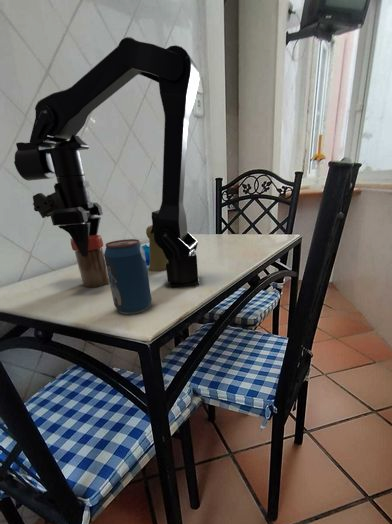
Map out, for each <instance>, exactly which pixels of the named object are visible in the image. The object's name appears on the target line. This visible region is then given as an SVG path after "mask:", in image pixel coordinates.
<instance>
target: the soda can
mask: <svg viewBox="0 0 392 524" xmlns="http://www.w3.org/2000/svg"><path fill="white" fill-rule="evenodd" d="M103 254H104V259H105V263H106V268H107V273H108V278H109V287H110V291H111V296H112V301H113V305H114V307H115V308H116V309H117V311H118V312H119V313H121V314H125V315H135V314H139V313H143V312H145V311H147V310H148V309H149V308H150V305H151V304H152V293H151V285H150V280H149V273H148V266H147V259H146V253H145V249H144V248H143V246H142V245H141V242H140V239H135V238H130V239H129V238H128V239H127V238H126V239H119V240H118V239H117V240H112V241H109V242H106V243H105V250H104V252H103Z"/></svg>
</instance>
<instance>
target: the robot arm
mask: <svg viewBox="0 0 392 524" xmlns="http://www.w3.org/2000/svg"><path fill="white" fill-rule="evenodd" d="M138 75H139V76H142V77H144V78H147V79H150V80H152V81H154V82H157V83H158V88H159V94H160V100H161V104H162V109H163V114H164V130H163V131H164V132H163V133H164V134H163V158H162V159H163V161H162V164H163V165H162V166H163V167H162V186H161V187H162V189H161V190H162V194H161V203H160V207H159V209H158V210H157V209H156V210H155V211H152V212H151V222H152V224H151V225H152V230H151V234H152V233H154V241H155V243H156V244H157V245H158V246H159V247H160V248H161V249H162V250H163V252H164V254H165V257H166V259H168V262H166V270H165V271H166V279H167V283H169V287H170V288H176V287H177V288H178V287H189V286H199V285H200V279H199V271H198V270H199V269H198V258H197V257H198V256H197V252H196V251H197V248H198V244H199V241H198V240H197V239H196V238H195V237H194V236H193V235H192V234H191V233H190V232H188V224H187V223H188V222H187V215H186V210H185V207H184V206H185V205H184V195H185V178H186V177H185V176H186V166H187V165H186V163H187V147H188V132H189V122H190V117H191V114H192V111H193V108H194V105H195V102H196V97H197V92H198V88H199V82H200V73H199V69H198V67H197V65H196V64H195V62H194V60H193V59H192V57H191V56H190V55H189V53H188V51H187V50H186V49H185V48H183V47H182V46H180V45H177V44H176V45H175V44H174V45H170V46H168V47H167V48H165V47H162V46H160V45H157V44H153V43H150V42H145V41H139V40H136V39H135V38H133V37H131V36H126V37H124V38H122V39H121V40H120V42H119V43H118V45H117V46H116V47H115V48H114V49H113V50H111V52H109V53H108V54H107V55H106V56H105V57H104V58H102V59H101V60H100V61H99V62H98V63H97V64H95V65H94V66H93V67H92V68H91V69H90V70H89V71H87V73H85V74H84V75H83V76H82V77H81V78H79V80H77V81H76V82H75V83H74V84H73V85H72V86H70V87H68V88H66V89H63V90H59V91H56V92H52V93H50V94H48V95H46V96H45V97H43V98H41V99H40V100H38V102H37V103H36V104H35V106H34V110H35V118H34V122H33V126H32V130H31V134H30V138H29V142H20V141H19V142H16V143H15V145H16V151H15V152H14V162H13V163H14V167H15V169H16V171H17V173H18V174H19V175H20V177H21V178H22V179H23V180H25V181H40V180H50V179H54V178H56V182H57V183H54V185H53V189H54V192H52V193H51V194H47V195H45V194H44V193H42V192H38V193H36V194H34V195H33V196H32V202H33V203H32V206H33V209H34V210H33V211H35V212H38V213H39V215H40V217H41V218H42V219H45V218H49V217H50V220H51V222H52V226H57V227H58V228H59V229H60V230H61V229H62V230H63V231H65V232H66V233H68V234H69V236H70V237H71V239H73V241H74V243H75V244H76V246H77V248H78V250H79V252H80V254H81V255H82V256H83V257H85V256H87V254H88V244H89V235H98V233H99V228H100V223H101V220H102V217H101V216H102V215H103V209H102V205H100V204H99V203H98V202H93V201H91V198H90V194H89V189H88V187H90V182H89V181H88V180H87V178H86V176H85V171H84V166H83V161H82V156H81V152H80V151H83V150H84V151H85V150H89V149H90V145H88V144H87V143H86V142H85V141H84V140H82V138H81V137H80V136H79V135H78V133H79V132H80V131H81V130H82V129H83V127H84V126H85V124H86V121H87V119H88V118H89V116H90V114H91V113H93V112H94V111H95V110H96V109H97V108H98V107H99V106H100V105H102V104H103V103H105V101H107V100H108V99H109V98H110V97H112V96H114V94H115V93H117V92H118V91H119V90H121V89H122V88H123V87H124V86H125V85H126V84H128V83H129V82H130V81H132V80H133V79H134V78H135V77H137V76H138ZM95 216H96V217H95Z"/></svg>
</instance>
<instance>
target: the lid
mask: <svg viewBox="0 0 392 524" xmlns="http://www.w3.org/2000/svg"><path fill="white" fill-rule="evenodd" d="M69 240H70V245H71V249H72V251H74V252H75V251H79V250H78V248H77V246H76V244H75V243H74V241H73V239H72V238H70V239H69ZM103 247H104V242H103V238H102V235H100V234H97V235H89V244H88V250H94V249H98V248H103Z"/></svg>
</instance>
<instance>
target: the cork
mask: <svg viewBox="0 0 392 524" xmlns="http://www.w3.org/2000/svg"><path fill="white" fill-rule="evenodd" d="M151 230H152V224H151V225H148V226H147V227H146V229H145V234H146V237H147V238H148V241H149V243H148V247H149V249H148V250H149V270H150V271H154V272H160V271H161V272H162V271H166V262H168V259H166V257H165V254H164V252H163V250H162V249H161V248H160V247H159V246H158V245H157V244H156V243H155V241H154V233H152V234H151Z"/></svg>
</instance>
